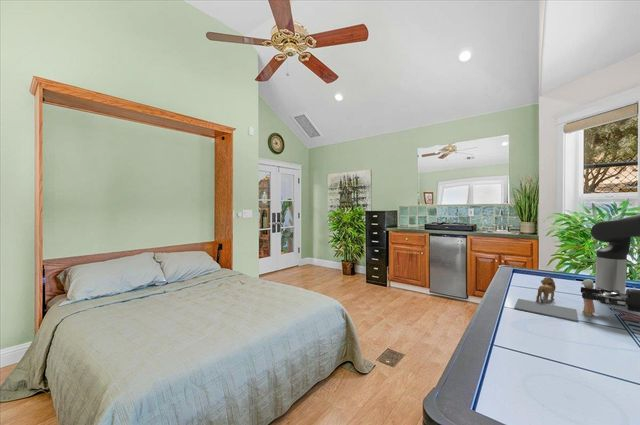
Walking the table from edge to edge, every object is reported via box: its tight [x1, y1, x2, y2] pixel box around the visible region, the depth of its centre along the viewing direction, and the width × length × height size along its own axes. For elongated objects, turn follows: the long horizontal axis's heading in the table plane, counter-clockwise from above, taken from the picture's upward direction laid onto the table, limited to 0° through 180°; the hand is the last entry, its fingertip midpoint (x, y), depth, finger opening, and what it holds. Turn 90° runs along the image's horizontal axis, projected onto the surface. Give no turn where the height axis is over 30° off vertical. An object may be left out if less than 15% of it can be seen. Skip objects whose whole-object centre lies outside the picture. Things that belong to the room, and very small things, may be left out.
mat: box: [513, 298, 579, 323], centre depth 106 cm, size 14×18×1 cm
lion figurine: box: [535, 276, 557, 304], centre depth 117 cm, size 15×5×9 cm, turn 134°
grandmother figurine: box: [581, 278, 596, 317], centre depth 103 cm, size 8×4×13 cm, turn 148°
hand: (581, 292), depth 104 cm, fingers open, 8 cm apart
